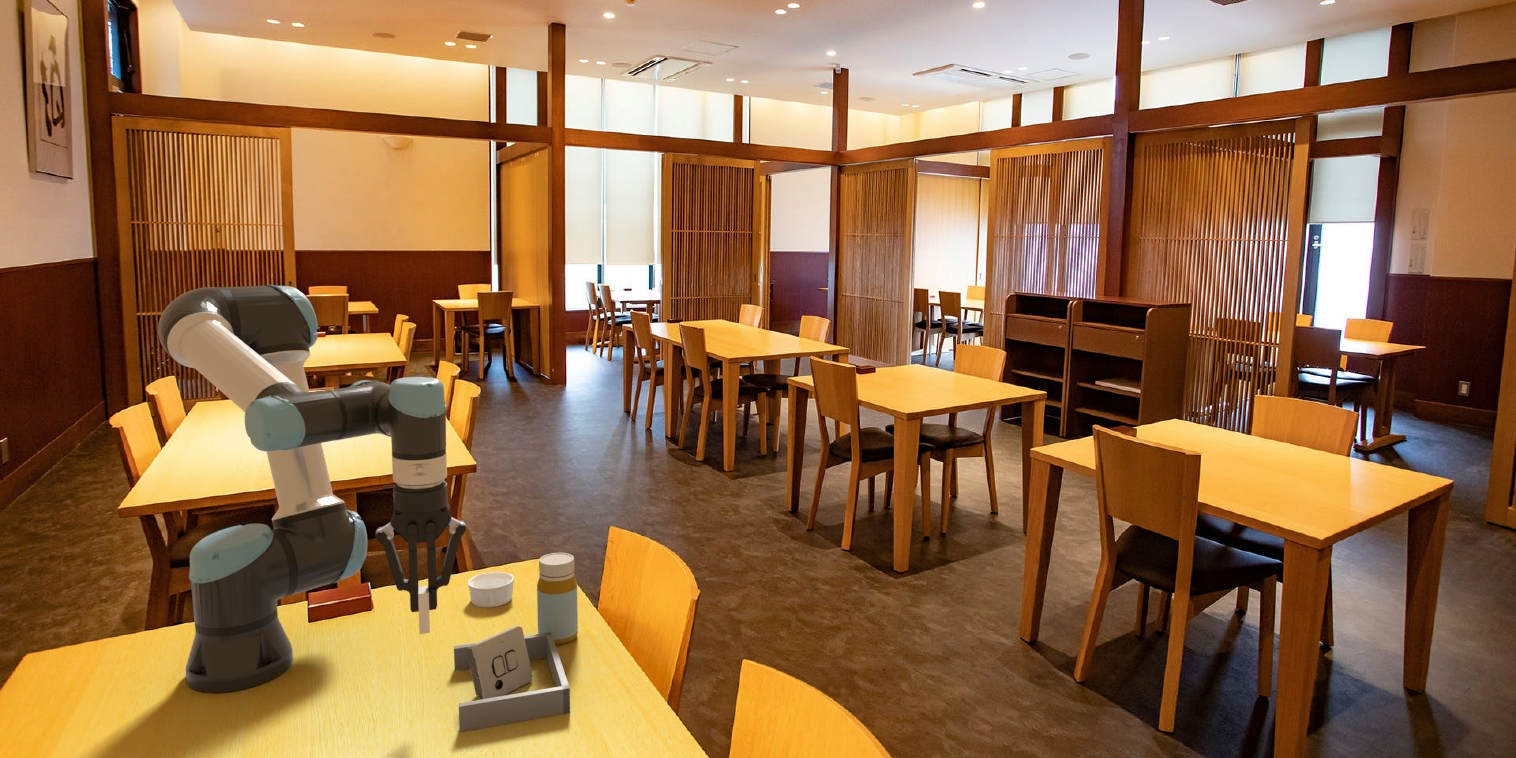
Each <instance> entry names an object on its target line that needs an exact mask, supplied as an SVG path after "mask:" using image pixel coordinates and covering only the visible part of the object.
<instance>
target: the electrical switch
mask: <svg viewBox="0 0 1516 758" xmlns="http://www.w3.org/2000/svg"><path fill="white" fill-rule="evenodd" d="M524 636H525V635H524V631H523V628H522V626H519V625H515V626H512V627H510V628H508V629H505V630H503V631H501V632H498V633H496V634H494V635H492V636H489V637H488V638H486V639H483V640H481V641H479V642H475V643H476V644H474V645H472V646H470V647H468V648H466V651H467V656H468V661H469V665H470V669H469V670H470V673H471V679H472V683H473V688H474V692H475V693H474V694H475V695H476V696H477V697H481V698H482V699H487V698H493V697H499V696H505V695H508V694H509V693H512V692H513V691H515V690H517V689H519V688H521V687H522V686H524V685H526V684H528V683H530V682H532V680H533V677H534V676H533V671H532V667H531V663H530V660H529V657H528V652H527V648H526V643H525V639H524Z"/></svg>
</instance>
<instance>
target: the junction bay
mask: <svg viewBox="0 0 1516 758" xmlns="http://www.w3.org/2000/svg"><path fill="white" fill-rule="evenodd" d="M524 639H525V643H526V648H527V652H528V657H529V661H532V660H539V659H543V658H546V660H547V663H548V667H549V669H550V673H551V677H552V681H553V683H554V687H549V688H542V689H537V690H531V691H525V692H518V693H513V694H505V695H503V696H499V697H493V698H487V699H483V698H482V699H476V700H472V701H471V700H470V701H463V702H458V720H459V721H458V722H459V723H458V724H459V725H458V726H459V733H463V732H468V731H473V730H478V729H484V728H489V727H490V728H491V727H496V726H501V725H506V724H507V725H508V724H512V723H517V722H524V721H531V720H536V719H541V718H545V717H552V716H558V715H563V714H569V713H571V688H570V684H569V682H568V678H567V676H566V674H565V673H566V672H565V670H564V667H563V664H562V661H561V658H560V654H559V652H558V649H557V645H555V642H554V639H553V636H552V633H551V632H550V633H543V634H538V633H537V634H536V633H535V634H529V635H524ZM476 643H477V642H475V643H466V644H461V645H455V646H453V662H454V664H453V665H454V672H458V671H459V672H461V671H467V670H470V665H469V661H468V656H467V651H466V648H468V647H470V646H472V645H474V644H476Z"/></svg>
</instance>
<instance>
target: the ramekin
mask: <svg viewBox="0 0 1516 758" xmlns="http://www.w3.org/2000/svg"><path fill="white" fill-rule="evenodd" d="M514 581H515V576H514V575H513V574H511V573H509V572H504V571H489V572H483V573H479V574H476V575H474V576H472V577H470V579H469V580H468V581H467V586H468V590H469V596H470V602H471V604H472V605H473V606H476V607H478V608H497V607H500V606H502V605H505V604H507V603H508V602H510V601H512V599H513V595H514V594H513V593H514Z"/></svg>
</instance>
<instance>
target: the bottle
mask: <svg viewBox="0 0 1516 758" xmlns="http://www.w3.org/2000/svg"><path fill="white" fill-rule="evenodd" d="M538 568H539V569H538V572H539V574H538V575H539V578H538V580H537V583H536V595H537V596H536V600H537V601H536V603H537V605H536V606H537V609H536V610H537V634H543V633H550V632H551V633H552V636H553V639H554V642H555V645H556V646H560V645H565V644H568V643H570V642H572V641H573V640H574V639H575V638H577V635H578V633H579V632H578V629H579V627H578V626H579V623H578V618H579V617H578V582H577V579H576V577H575V557H574V555H572V554H570V553H568V552H551V553H548V554H545V555H542V556H540V558H539V559H538Z"/></svg>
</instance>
